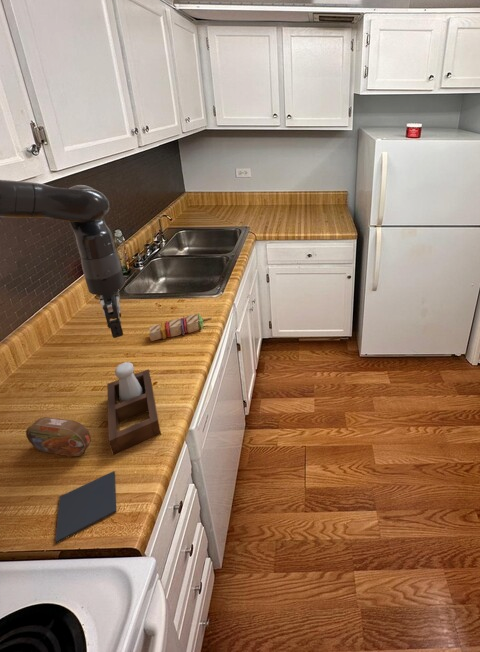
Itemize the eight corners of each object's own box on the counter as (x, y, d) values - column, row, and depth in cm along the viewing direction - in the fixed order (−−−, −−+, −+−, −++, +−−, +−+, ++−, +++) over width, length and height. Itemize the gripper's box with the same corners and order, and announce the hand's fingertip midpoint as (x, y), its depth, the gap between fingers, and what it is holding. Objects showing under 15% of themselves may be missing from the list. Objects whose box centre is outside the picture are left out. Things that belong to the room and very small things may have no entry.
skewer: (151, 345, 113) (148, 333, 111) (151, 334, 118) (148, 322, 116) (213, 329, 121) (212, 317, 119) (210, 319, 126) (209, 308, 125)
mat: (55, 543, 63) (55, 542, 62) (60, 498, 70) (59, 496, 70) (116, 512, 67) (115, 510, 67) (114, 472, 75) (114, 470, 74)
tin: (30, 450, 79) (19, 425, 76) (42, 437, 82) (32, 413, 79) (87, 459, 77) (78, 434, 74) (97, 446, 80) (88, 421, 77)
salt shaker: (133, 391, 95) (124, 356, 90) (149, 396, 93) (141, 360, 89) (116, 408, 90) (105, 371, 85) (133, 414, 88) (123, 377, 83)
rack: (113, 455, 78) (108, 441, 76) (111, 397, 93) (107, 383, 91) (160, 434, 83) (157, 420, 81) (151, 382, 98) (148, 369, 96)
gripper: (85, 261, 82) (100, 316, 88) (82, 288, 70) (100, 348, 76) (119, 255, 85) (131, 308, 91) (122, 279, 74) (136, 337, 80)
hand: (117, 326), depth 84 cm, fingers open, 8 cm apart
